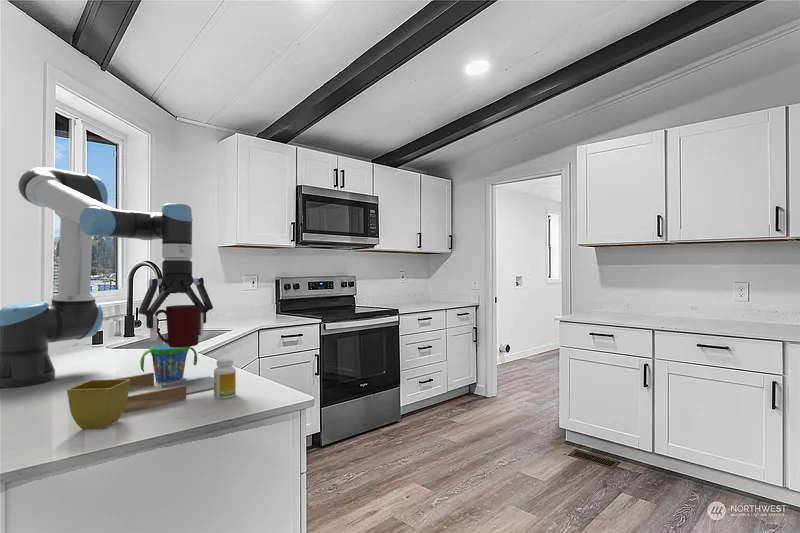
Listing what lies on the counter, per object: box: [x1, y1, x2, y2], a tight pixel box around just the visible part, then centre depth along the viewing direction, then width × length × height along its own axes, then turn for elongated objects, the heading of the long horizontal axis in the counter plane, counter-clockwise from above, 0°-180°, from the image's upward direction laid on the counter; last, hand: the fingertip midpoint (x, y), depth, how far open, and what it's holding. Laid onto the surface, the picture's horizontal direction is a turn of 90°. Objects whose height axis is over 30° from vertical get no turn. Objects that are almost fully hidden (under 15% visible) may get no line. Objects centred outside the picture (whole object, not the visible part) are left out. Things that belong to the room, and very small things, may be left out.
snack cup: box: [139, 343, 198, 383], centre depth 141 cm, size 16×10×10 cm
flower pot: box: [66, 379, 130, 430], centre depth 100 cm, size 9×9×9 cm
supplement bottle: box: [213, 357, 237, 400], centre depth 122 cm, size 5×5×10 cm
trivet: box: [161, 375, 214, 396], centre depth 133 cm, size 14×14×1 cm
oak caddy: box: [109, 372, 187, 414], centre depth 120 cm, size 22×18×4 cm
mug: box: [154, 304, 201, 348], centre depth 129 cm, size 12×9×11 cm
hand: (177, 337), depth 129 cm, fingers closed on mug, 12 cm apart
